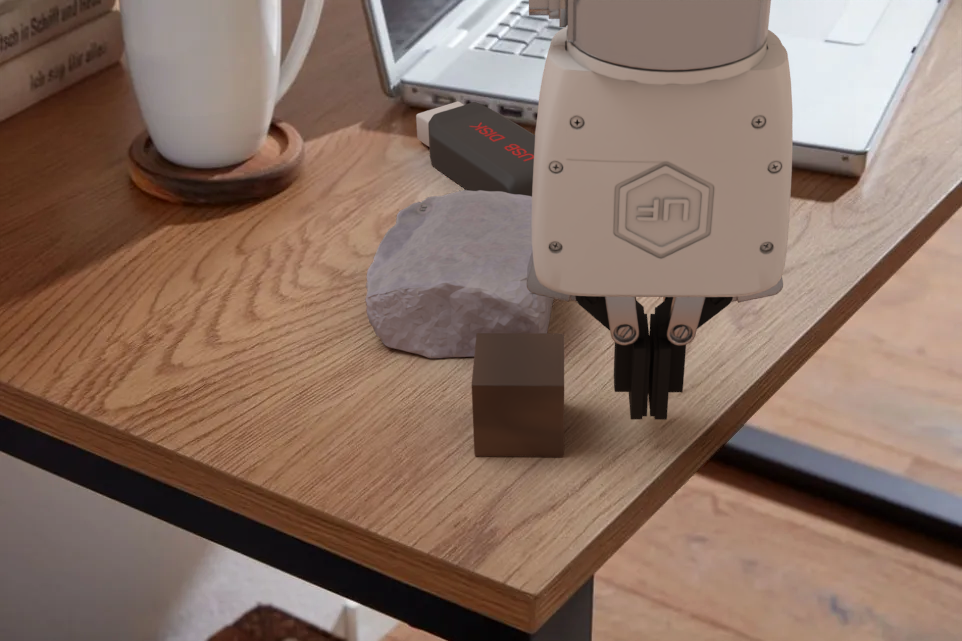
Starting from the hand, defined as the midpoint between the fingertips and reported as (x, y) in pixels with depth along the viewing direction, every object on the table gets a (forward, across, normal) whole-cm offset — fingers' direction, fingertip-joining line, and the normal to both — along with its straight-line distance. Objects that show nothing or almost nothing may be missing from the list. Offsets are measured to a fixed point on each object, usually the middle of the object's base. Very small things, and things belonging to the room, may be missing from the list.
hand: (646, 400), depth 60 cm
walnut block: (+2, -6, 0) cm, 6 cm away
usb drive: (+2, -8, +26) cm, 27 cm away
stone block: (+2, -9, +11) cm, 15 cm away
